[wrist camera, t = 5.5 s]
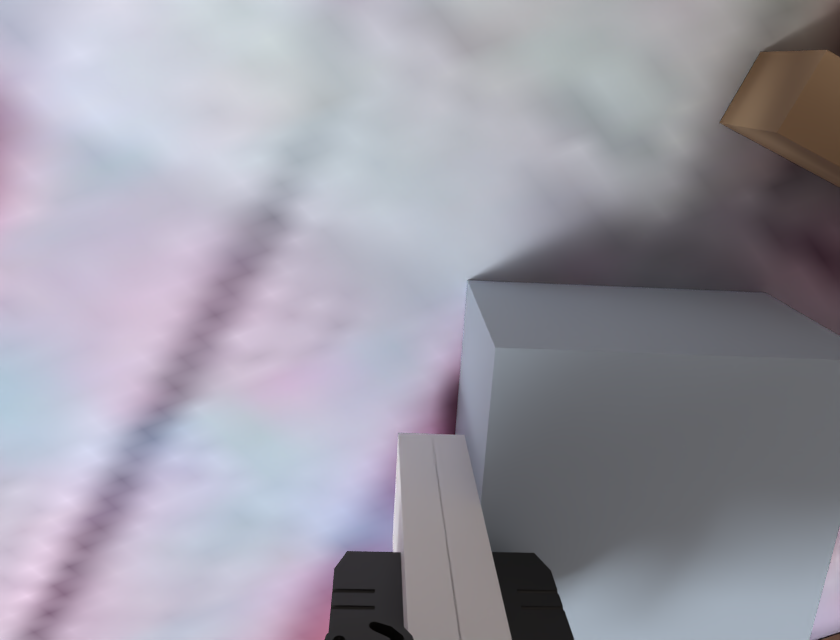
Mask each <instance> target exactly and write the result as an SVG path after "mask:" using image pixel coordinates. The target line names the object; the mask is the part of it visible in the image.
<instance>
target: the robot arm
mask: <svg viewBox="0 0 840 640" xmlns="http://www.w3.org/2000/svg"><path fill="white" fill-rule="evenodd" d="M325 640H574V637H573V634H572V631H571V628H570V625H569V622H568V619H567V616H566V613H565V611H564V610H563V605H562V602H561V599H560V596H559V594H558V592H557V587H556V584H555V581H554V578H553V575H552V572H551V570H550V569H549V568H548V567H547V566H546V565H545V564H544V563H543V562H542V561H541V559H540V558H539V557H538V556H537V555H536V554H535V553H520V552H492V551H491V547H490V543H489V538H488V534H487V530H486V525H485V521H484V517H483V512H482V508H481V504H480V499H479V495H478V491H477V487H476V482H475V478H474V474H473V469H472V465H471V461H470V457H469V452H468V448H467V444H466V439H465V435H452V434H417V433H398V447H397V467H396V486H395V505H394V524H393V552H359V551H347V552H346V554H345V555H344V556H343V558H342V559H341V560H340V562H339V563H338V565H337V566H336V567H335V569H334V579H333V592H332V601H331V612H330V623H329V633H328V634H327V635H326V637H325Z"/></svg>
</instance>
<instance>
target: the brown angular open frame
mask: <svg viewBox="0 0 840 640" xmlns="http://www.w3.org/2000/svg"><path fill="white" fill-rule="evenodd" d="M720 123H721V124H722V125H724V126H726V127H728V128H730V129H732V130H734V131H735V132H737V133H739V134H741V135H743V136H745V137H747V138H748V139H750V140H752V141H754V142H756V143H758V144H760V145H761V146H763V147H765V148H767V149H769V150H771V151H773V152H774V153H776V154H778V155H780V156H782V157H784V158H786V159H787V160H789V161H791V162H793V163H795V164H797V165H799V166H800V167H802V168H804V169H806V170H808V171H810V172H812V173H813V174H815V175H817V176H819V177H821V178H823V179H825V180H826V181H828V182H830V183H832V184H834V185H836V186H838V187H839V188H840V57H839V56H837V55H835V54H834V53H832V52H830V51H828V50H804V51H774V52H760V54H759V56H758V57H757V59H756V61H755V62H754V64H753V66H752V68H751V69H750V71H749V73H748V74H747V76H746V78H745V80H744V81H743V83H742V85H741V87H740V88H739V90H738V92H737V93H736V95H735V97H734V99H733V100H732V102H731V104H730V105H729V107H728V109H727V111H726V112H725V114H724V116H723V117H722V119H721V121H720ZM821 640H840V634H837V635H833V636H830V637H827V638H824V639H821Z"/></svg>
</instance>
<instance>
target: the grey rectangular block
mask: <svg viewBox="0 0 840 640" xmlns="http://www.w3.org/2000/svg"><path fill="white" fill-rule="evenodd" d="M455 435H465V439H466V444H467V448H468V452H469V457H470V461H471V465H472V469H473V474H474V478H475V482H476V487H477V491H478V495H479V499H480V504H481V508H482V512H483V517H484V521H485V525H486V530H487V534H488V538H489V543H490V547H491V551H492V552H520V553H535V554H536V555H537V556H538V557H539V558H540V559H541V561H542V562H543V563H544V564H545V565H546V566H547V567H548V568H549V569H550V570H551V572H552V575H553V578H554V581H555V584H556V587H557V592H558V594H559V596H560V599H561V602H562V605H563V610H564V611H565V613H566V616H567V619H568V622H569V625H570V628H571V631H572V634H573V637H574V640H809V639H810V635H811V632H812V628H813V624H814V620H815V617H816V613H817V609H818V605H819V602H820V598H821V594H822V590H823V587H824V583H825V579H826V575H827V572H828V568H829V564H830V560H831V557H832V553H833V549H834V545H835V542H836V538H837V534H838V530H839V527H840V336H839V335H837V334H836V333H834V332H832V331H830V330H829V329H827V328H825V327H824V326H822V325H820V324H818V323H817V322H815V321H813V320H812V319H810V318H808V317H806V316H805V315H803V314H801V313H800V312H798V311H796V310H794V309H793V308H791V307H789V306H788V305H786V304H784V303H782V302H781V301H779V300H777V299H776V298H774V297H772V296H770V295H769V294H767V293H762V292H738V291H715V290H691V289H667V288H643V287H619V286H596V285H572V284H548V283H524V282H500V281H477V280H467V291H466V304H465V316H464V329H463V342H462V354H461V367H460V379H459V392H458V404H457V417H456V429H455Z"/></svg>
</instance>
